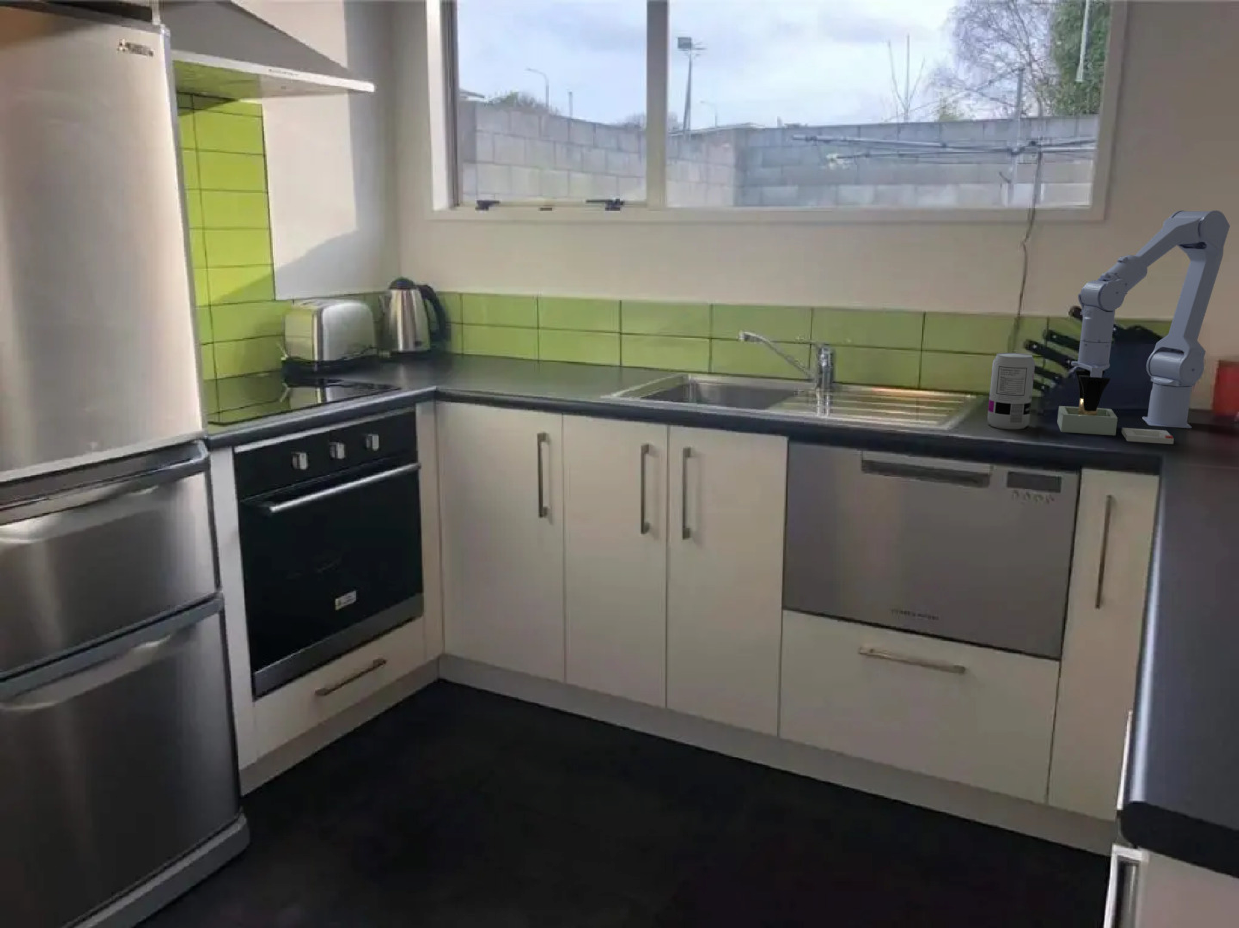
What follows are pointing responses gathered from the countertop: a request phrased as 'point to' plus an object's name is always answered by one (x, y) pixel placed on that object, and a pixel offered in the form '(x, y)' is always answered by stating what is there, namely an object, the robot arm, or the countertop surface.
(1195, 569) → the countertop surface
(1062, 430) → the grey-green square tray
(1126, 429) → the white square recessed tray
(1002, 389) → the supplement can
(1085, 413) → the cell
